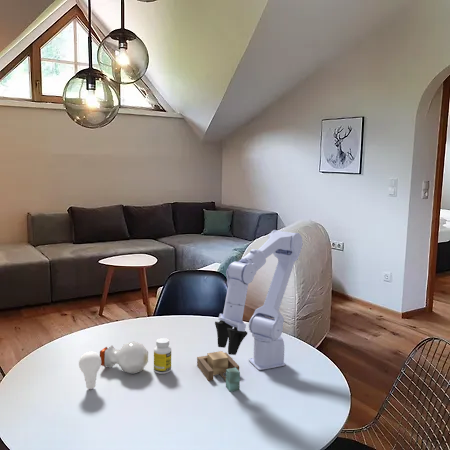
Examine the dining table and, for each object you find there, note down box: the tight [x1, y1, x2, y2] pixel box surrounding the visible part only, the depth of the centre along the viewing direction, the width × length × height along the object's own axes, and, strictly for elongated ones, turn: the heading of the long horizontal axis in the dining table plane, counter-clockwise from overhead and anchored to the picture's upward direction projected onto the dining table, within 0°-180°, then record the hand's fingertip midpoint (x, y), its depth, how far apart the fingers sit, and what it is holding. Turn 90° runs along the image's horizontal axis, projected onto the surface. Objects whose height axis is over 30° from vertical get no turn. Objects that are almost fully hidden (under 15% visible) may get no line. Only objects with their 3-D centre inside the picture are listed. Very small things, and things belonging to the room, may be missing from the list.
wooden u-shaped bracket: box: [196, 352, 240, 382], centre depth 142 cm, size 10×10×3 cm
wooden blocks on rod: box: [206, 350, 241, 393], centre depth 137 cm, size 5×16×6 cm, turn 22°
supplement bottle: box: [153, 337, 172, 375], centre depth 141 cm, size 5×5×10 cm
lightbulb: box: [78, 351, 102, 390], centre depth 129 cm, size 6×6×11 cm
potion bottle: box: [99, 341, 149, 375], centre depth 141 cm, size 9×10×15 cm
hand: (226, 350), depth 130 cm, fingers open, 7 cm apart
